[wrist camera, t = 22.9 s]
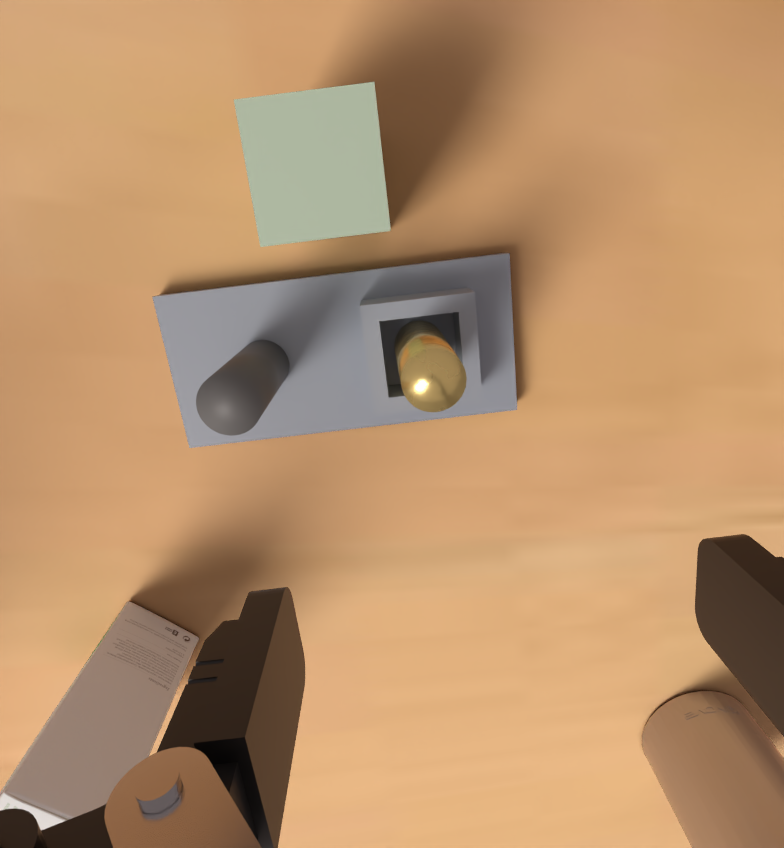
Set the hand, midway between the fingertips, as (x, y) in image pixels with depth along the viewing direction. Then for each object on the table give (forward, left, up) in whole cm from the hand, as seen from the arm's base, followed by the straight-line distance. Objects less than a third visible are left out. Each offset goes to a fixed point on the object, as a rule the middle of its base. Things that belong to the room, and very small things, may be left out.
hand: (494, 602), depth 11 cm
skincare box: (-22, +24, -28) cm, 43 cm away
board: (0, +5, -28) cm, 28 cm away
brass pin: (0, 0, -27) cm, 27 cm away
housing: (+10, +4, -28) cm, 30 cm away
